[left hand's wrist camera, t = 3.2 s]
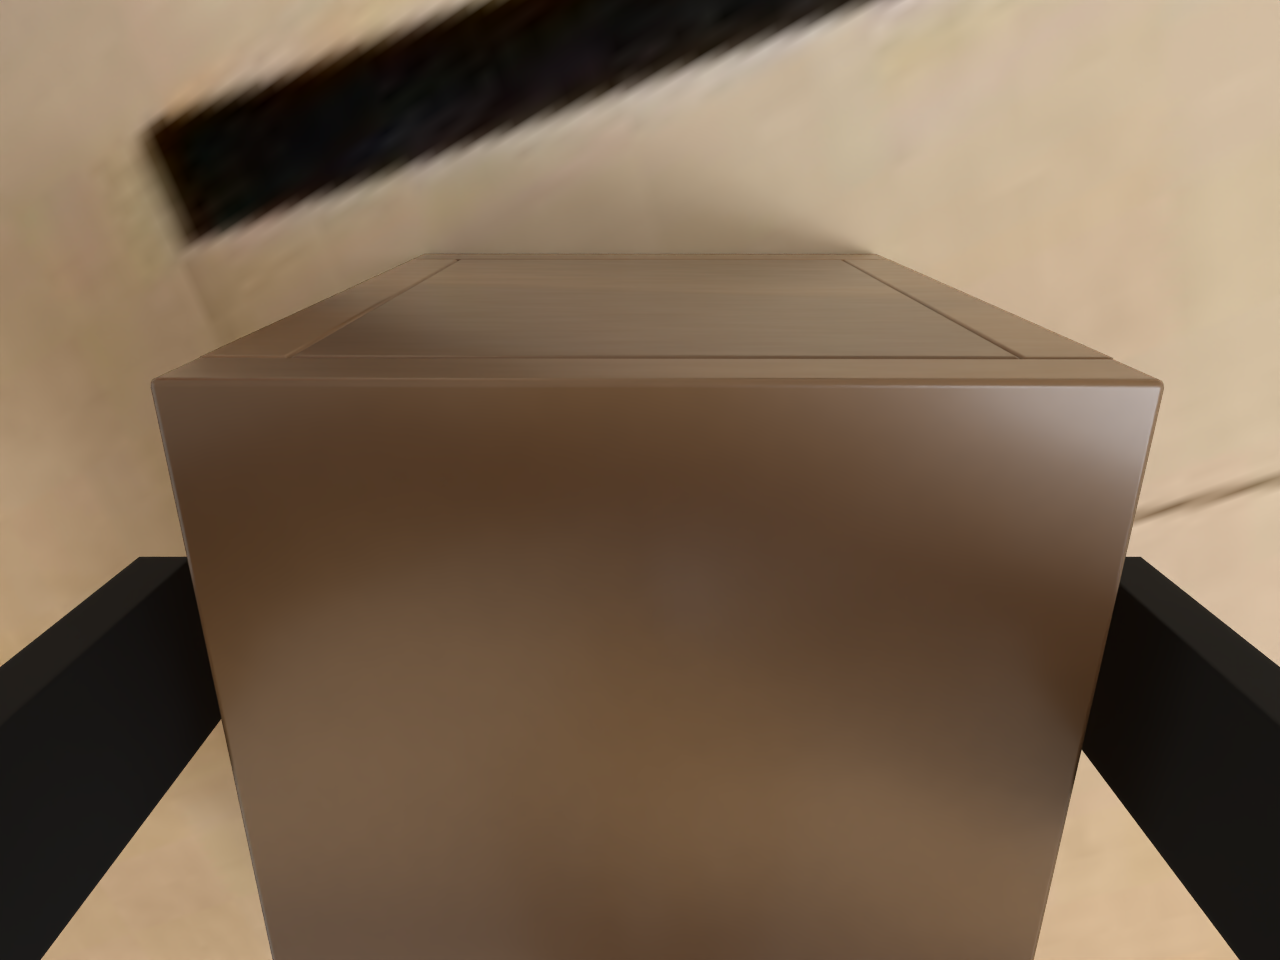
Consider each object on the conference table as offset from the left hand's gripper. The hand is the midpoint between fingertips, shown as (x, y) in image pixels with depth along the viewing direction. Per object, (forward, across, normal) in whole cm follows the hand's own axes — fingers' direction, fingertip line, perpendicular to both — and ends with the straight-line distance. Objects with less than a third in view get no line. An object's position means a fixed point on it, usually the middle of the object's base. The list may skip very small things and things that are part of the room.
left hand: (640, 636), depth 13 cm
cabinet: (+9, 0, -4) cm, 9 cm away
